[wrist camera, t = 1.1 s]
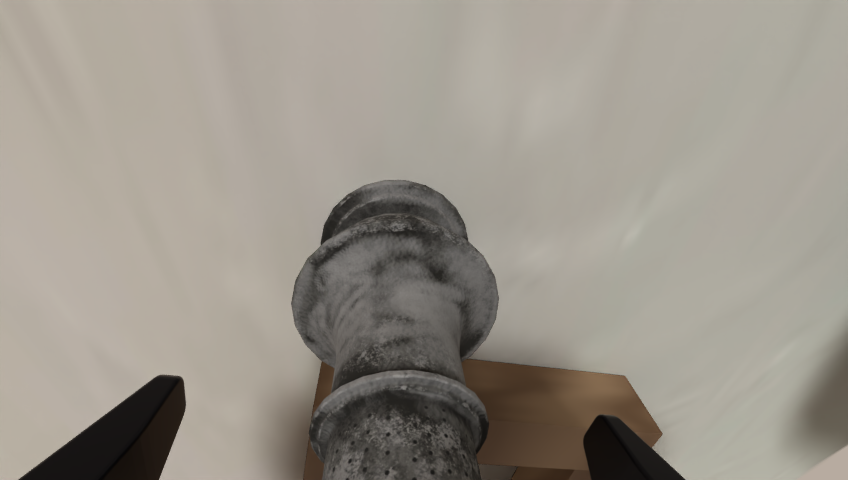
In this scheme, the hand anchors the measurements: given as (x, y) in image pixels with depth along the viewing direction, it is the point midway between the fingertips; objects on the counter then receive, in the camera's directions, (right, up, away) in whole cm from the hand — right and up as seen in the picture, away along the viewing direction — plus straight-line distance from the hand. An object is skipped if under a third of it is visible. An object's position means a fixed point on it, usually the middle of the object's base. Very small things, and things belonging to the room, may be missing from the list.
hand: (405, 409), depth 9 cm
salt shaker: (-1, +3, +6) cm, 7 cm away
